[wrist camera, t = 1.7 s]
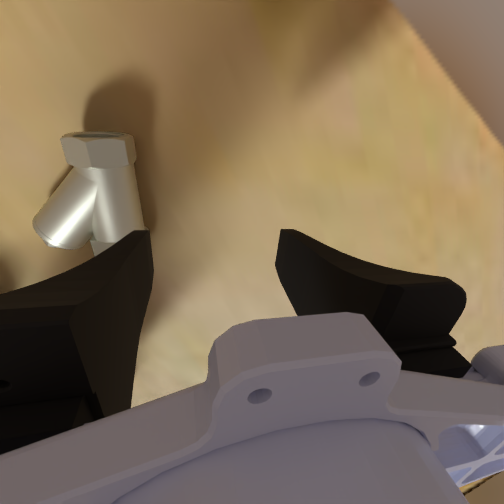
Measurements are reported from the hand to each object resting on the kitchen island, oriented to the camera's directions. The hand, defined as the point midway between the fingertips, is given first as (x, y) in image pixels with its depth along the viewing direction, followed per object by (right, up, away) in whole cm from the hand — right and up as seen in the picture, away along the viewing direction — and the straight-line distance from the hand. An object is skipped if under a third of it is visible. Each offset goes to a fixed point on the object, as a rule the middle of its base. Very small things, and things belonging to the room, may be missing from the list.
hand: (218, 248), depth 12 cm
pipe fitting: (-10, +4, +7) cm, 13 cm away
